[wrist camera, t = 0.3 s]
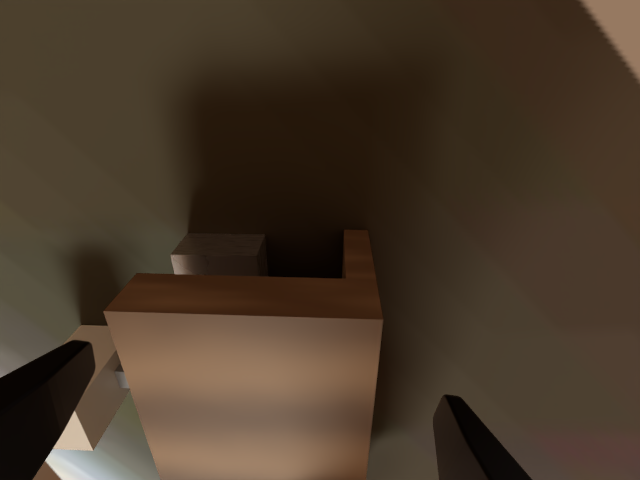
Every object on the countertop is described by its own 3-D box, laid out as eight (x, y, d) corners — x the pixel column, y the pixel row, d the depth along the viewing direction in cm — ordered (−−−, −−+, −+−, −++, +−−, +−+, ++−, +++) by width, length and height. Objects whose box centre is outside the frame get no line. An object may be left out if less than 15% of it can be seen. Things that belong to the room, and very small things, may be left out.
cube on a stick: (294, 370, 29) (282, 458, 23) (95, 363, 29) (31, 447, 23) (292, 331, 27) (279, 416, 21) (80, 324, 28) (6, 405, 21)
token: (270, 295, 26) (263, 324, 23) (201, 294, 26) (185, 322, 23) (265, 232, 24) (256, 256, 21) (188, 231, 24) (170, 254, 21)
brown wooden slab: (356, 386, 29) (363, 503, 22) (208, 381, 30) (165, 493, 22) (367, 230, 23) (383, 319, 15) (178, 225, 23) (103, 311, 16)
